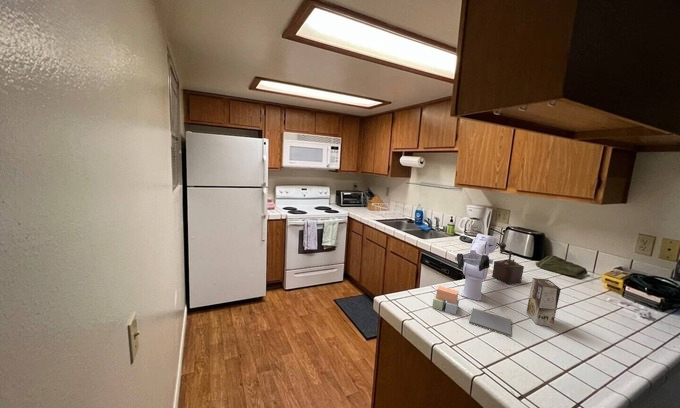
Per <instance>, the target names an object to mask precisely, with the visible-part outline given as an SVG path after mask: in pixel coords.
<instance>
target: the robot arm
mask: <svg viewBox="0 0 680 408" xmlns="http://www.w3.org/2000/svg"><path fill="white" fill-rule="evenodd" d="M497 244H498V237H497V236H493V235H488V234H482V233H477V234H476V237H475V239H474V238H473V239H472V242H471V245H470V249H469V251H468V252H465V253H457V254H455V256H454V261H455V262H457V265H458V266H457V267H458V269H459V270H461V269H462V267H463V269H462V273H463V275H464V277H465V279H464V284H463V286H464V287H463V289H462V292H461V297H463V298H467V299H471V300H473V301H474V300H475V301H479V302H480V301H481V299H482V295H483V292H482V288H483V280H484V281H485V280H486V279H487V276H488V273H489V269H490V265H494V258H493V257H490V256H489V255H490V254H491V253H494V252H495V251H496V248H497Z"/></svg>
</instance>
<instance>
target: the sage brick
mask: <svg viewBox="0 0 680 408" xmlns="http://www.w3.org/2000/svg"><path fill="white" fill-rule="evenodd" d="M446 303H447V301H445V300H441V299H438V298H436V294H435V296H434V297H433V298H432V306H431V307H432V308H433V309H435V308H436V310H438V309H439V311H443V310H442V309H444V307H445V306H446Z"/></svg>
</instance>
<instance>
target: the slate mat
mask: <svg viewBox="0 0 680 408" xmlns="http://www.w3.org/2000/svg"><path fill="white" fill-rule="evenodd" d="M470 313H471V314H470V317H469V321H468V323H469V324H471V323H472V324H471V325H474V324H475V325H474V326H477V325H478V326H477V327H480V326H481V327H480V328H483V327H484V328H483V329H486V328H487V329H486V330H489V329H490V331H492V330H493V331H492V332H495V331H496V332H495V333H498V334H501V335H505V336H508V337H511V335H512V319H511V318H507V317H505V316H501V315H498V314H494V313H491V312H489V311H488V312H487V311H484V310H480V309H477V308H474V307H472V310H471V312H470Z"/></svg>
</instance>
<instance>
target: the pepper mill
mask: <svg viewBox="0 0 680 408" xmlns="http://www.w3.org/2000/svg"><path fill="white" fill-rule="evenodd" d="M506 247H507V244H506V243H503V242H501V243H500V242H499V244H498V248H499V254H501V255H506V256H508V258H507V259H502V260H493V269H492V275H491V277H492V278H493V279H496V280H497V281H500V282H502V283H504V284H506V285H509V286H510V285H516V284H521V283H522V279H523V275H524V268H525V266H524V265H522V264H519V263H518V262H516V261H515V259H514V258H513V259H512V255H513V251H512V250H509V252H508V253H507V252H506Z"/></svg>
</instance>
